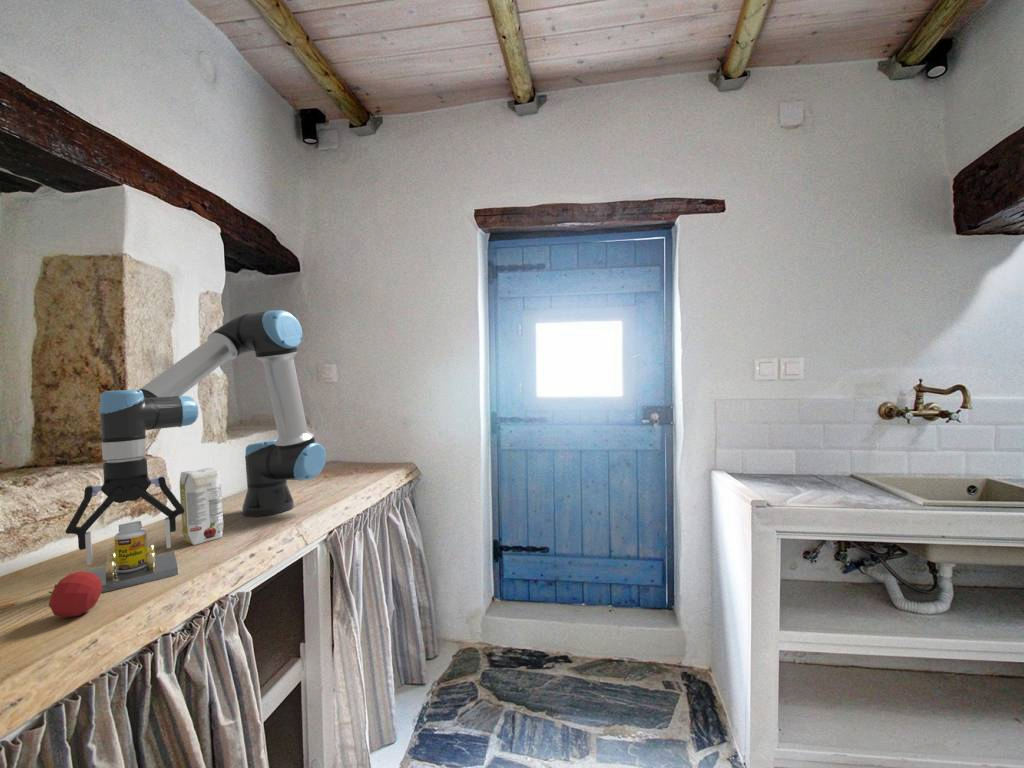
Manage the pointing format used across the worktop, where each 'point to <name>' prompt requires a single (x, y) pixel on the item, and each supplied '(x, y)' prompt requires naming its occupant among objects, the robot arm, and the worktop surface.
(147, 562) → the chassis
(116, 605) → the worktop surface
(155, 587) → the worktop surface
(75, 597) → the tomato
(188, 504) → the juice carton
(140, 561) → the supplement bottle
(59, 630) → the worktop surface
